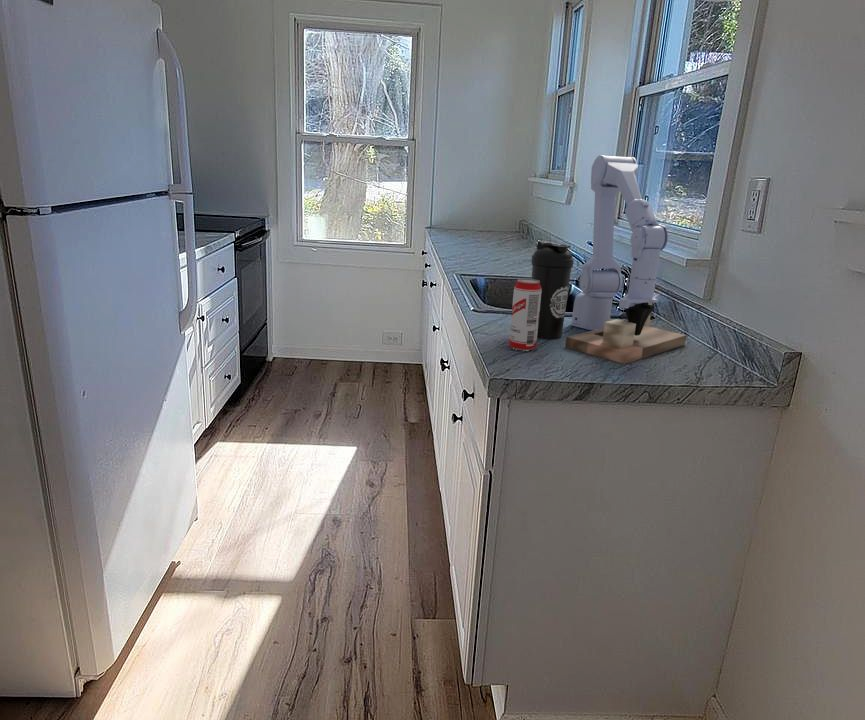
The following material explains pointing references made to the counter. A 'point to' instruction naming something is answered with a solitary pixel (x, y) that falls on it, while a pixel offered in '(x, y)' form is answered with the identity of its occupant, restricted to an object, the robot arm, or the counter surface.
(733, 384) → the counter surface
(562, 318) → the water bottle
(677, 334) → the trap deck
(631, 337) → the maple block
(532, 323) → the beer can
